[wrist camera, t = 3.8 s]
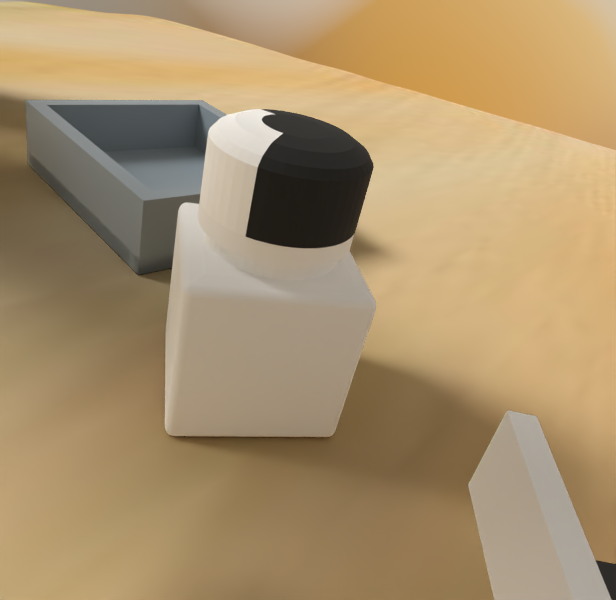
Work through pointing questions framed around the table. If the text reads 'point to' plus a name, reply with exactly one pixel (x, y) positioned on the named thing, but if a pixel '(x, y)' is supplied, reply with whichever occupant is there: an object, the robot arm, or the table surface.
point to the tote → (123, 167)
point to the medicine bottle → (268, 281)
